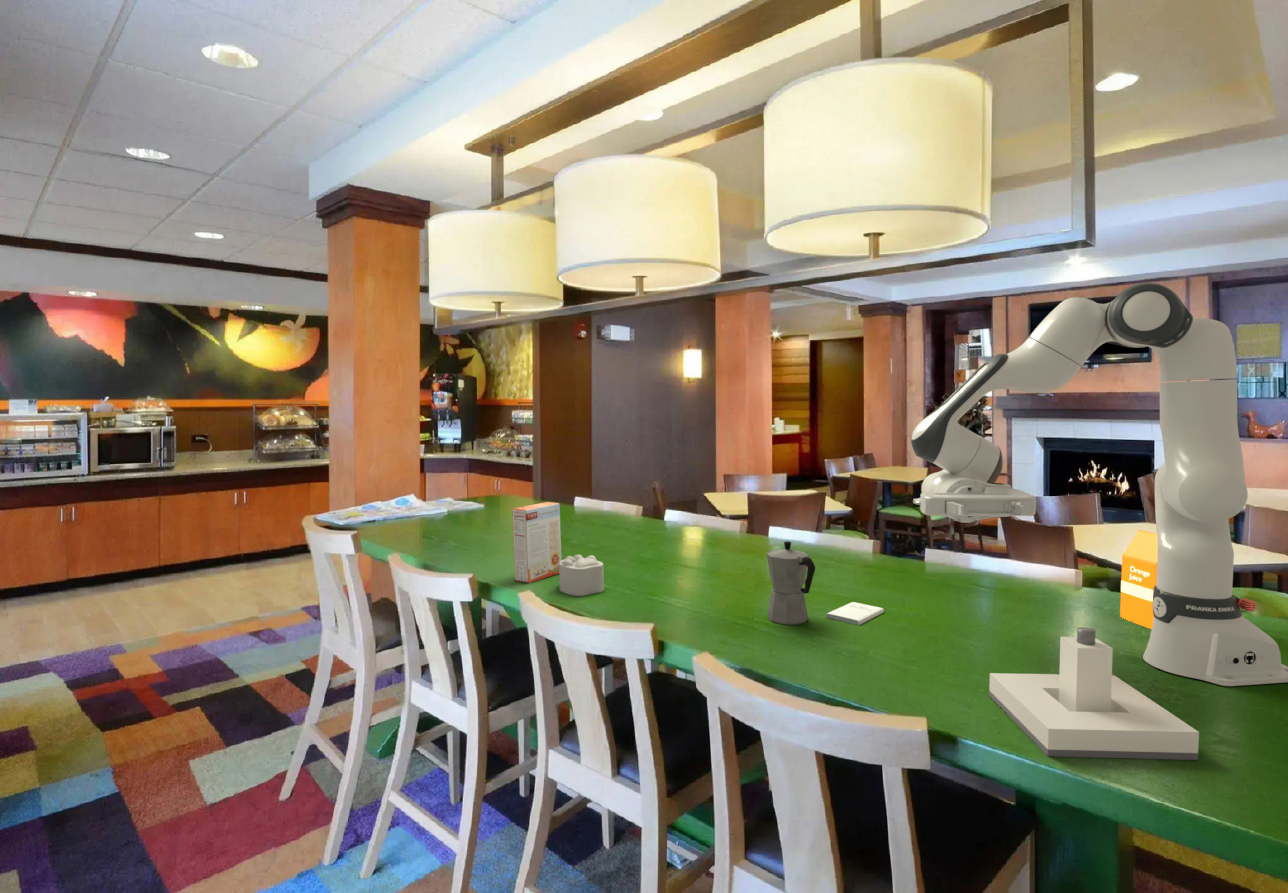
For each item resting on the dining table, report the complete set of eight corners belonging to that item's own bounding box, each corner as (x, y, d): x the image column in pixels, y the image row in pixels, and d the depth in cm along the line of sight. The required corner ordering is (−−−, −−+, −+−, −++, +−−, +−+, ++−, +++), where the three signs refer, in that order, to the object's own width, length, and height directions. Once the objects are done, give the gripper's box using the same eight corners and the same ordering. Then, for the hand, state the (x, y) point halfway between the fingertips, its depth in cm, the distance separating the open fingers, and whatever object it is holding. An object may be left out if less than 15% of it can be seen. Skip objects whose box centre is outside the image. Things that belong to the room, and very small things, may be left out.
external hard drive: (825, 619, 162) (851, 607, 171) (859, 627, 157) (883, 614, 166) (825, 613, 162) (851, 601, 171) (859, 620, 157) (883, 607, 166)
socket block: (1113, 698, 117) (1114, 675, 117) (1197, 760, 98) (1199, 732, 97) (989, 696, 119) (989, 673, 119) (1047, 756, 99) (1048, 728, 99)
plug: (1091, 711, 110) (1094, 624, 109) (1110, 726, 105) (1113, 635, 104) (1058, 711, 111) (1060, 624, 110) (1075, 726, 106) (1077, 634, 105)
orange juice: (1153, 630, 151) (1156, 537, 149) (1119, 617, 160) (1122, 530, 158) (1184, 627, 152) (1188, 536, 151) (1149, 615, 161) (1152, 528, 159)
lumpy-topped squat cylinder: (575, 597, 182) (574, 564, 181) (550, 587, 192) (550, 555, 191) (609, 590, 188) (608, 558, 187) (583, 580, 198) (582, 550, 198)
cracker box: (547, 570, 210) (546, 501, 209) (562, 573, 207) (561, 502, 205) (513, 580, 199) (511, 507, 198) (528, 583, 195) (526, 509, 194)
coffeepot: (753, 614, 165) (753, 538, 164) (784, 608, 170) (785, 534, 169) (797, 633, 152) (797, 550, 151) (830, 625, 156) (830, 546, 155)
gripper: (910, 484, 141) (933, 493, 127) (1016, 483, 139) (1051, 493, 126) (909, 515, 141) (932, 528, 128) (1015, 515, 140) (1050, 528, 126)
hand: (992, 510), depth 127 cm, fingers open, 8 cm apart
